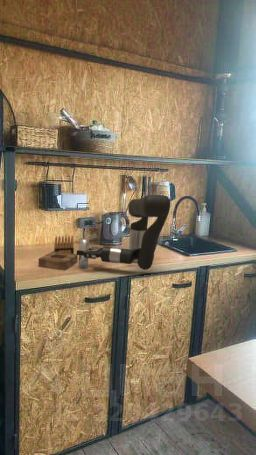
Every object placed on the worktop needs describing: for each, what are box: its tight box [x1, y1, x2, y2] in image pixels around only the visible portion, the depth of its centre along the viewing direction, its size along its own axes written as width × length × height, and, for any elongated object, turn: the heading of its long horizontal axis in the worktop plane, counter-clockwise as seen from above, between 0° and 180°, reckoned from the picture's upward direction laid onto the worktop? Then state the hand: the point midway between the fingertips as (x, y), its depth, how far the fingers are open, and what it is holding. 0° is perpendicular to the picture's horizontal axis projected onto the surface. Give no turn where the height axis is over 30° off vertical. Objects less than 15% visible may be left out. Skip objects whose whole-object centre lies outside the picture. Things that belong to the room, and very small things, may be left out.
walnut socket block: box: [38, 250, 79, 271], centre depth 185 cm, size 16×14×4 cm
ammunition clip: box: [53, 234, 75, 254], centre depth 198 cm, size 11×2×12 cm, turn 116°
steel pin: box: [78, 238, 90, 270], centre depth 181 cm, size 5×5×14 cm
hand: (79, 250), depth 181 cm, fingers open, 6 cm apart
